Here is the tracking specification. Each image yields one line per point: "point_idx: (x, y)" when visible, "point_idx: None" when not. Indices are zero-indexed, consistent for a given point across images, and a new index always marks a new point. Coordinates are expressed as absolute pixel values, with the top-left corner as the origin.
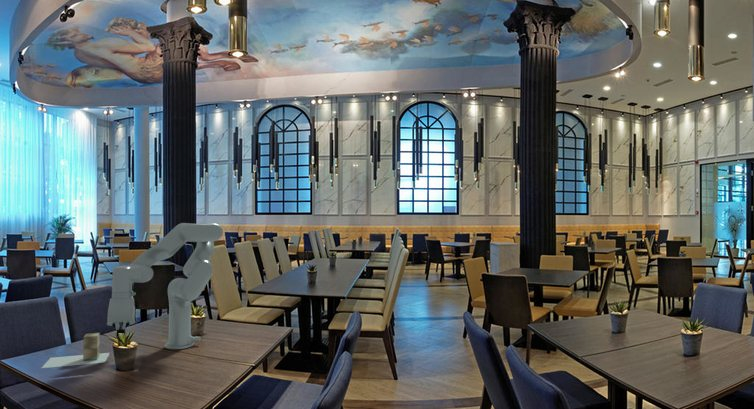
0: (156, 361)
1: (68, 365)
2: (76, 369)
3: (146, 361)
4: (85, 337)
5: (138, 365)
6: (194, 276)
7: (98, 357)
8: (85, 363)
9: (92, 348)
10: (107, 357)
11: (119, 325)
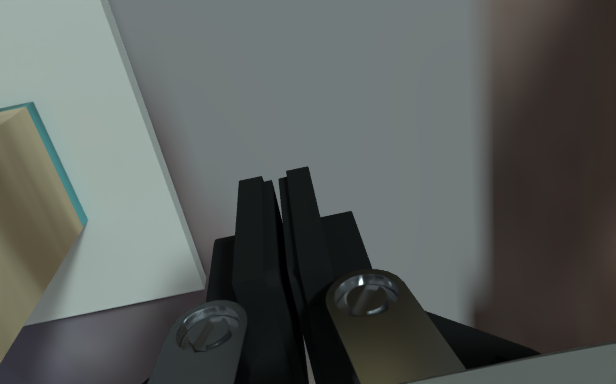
0: (613, 227)
1: None
2: (31, 356)
3: (534, 220)
4: None
5: (480, 305)
6: None
7: (51, 142)
8: (41, 306)
9: None
10: (153, 148)
11: (246, 380)
